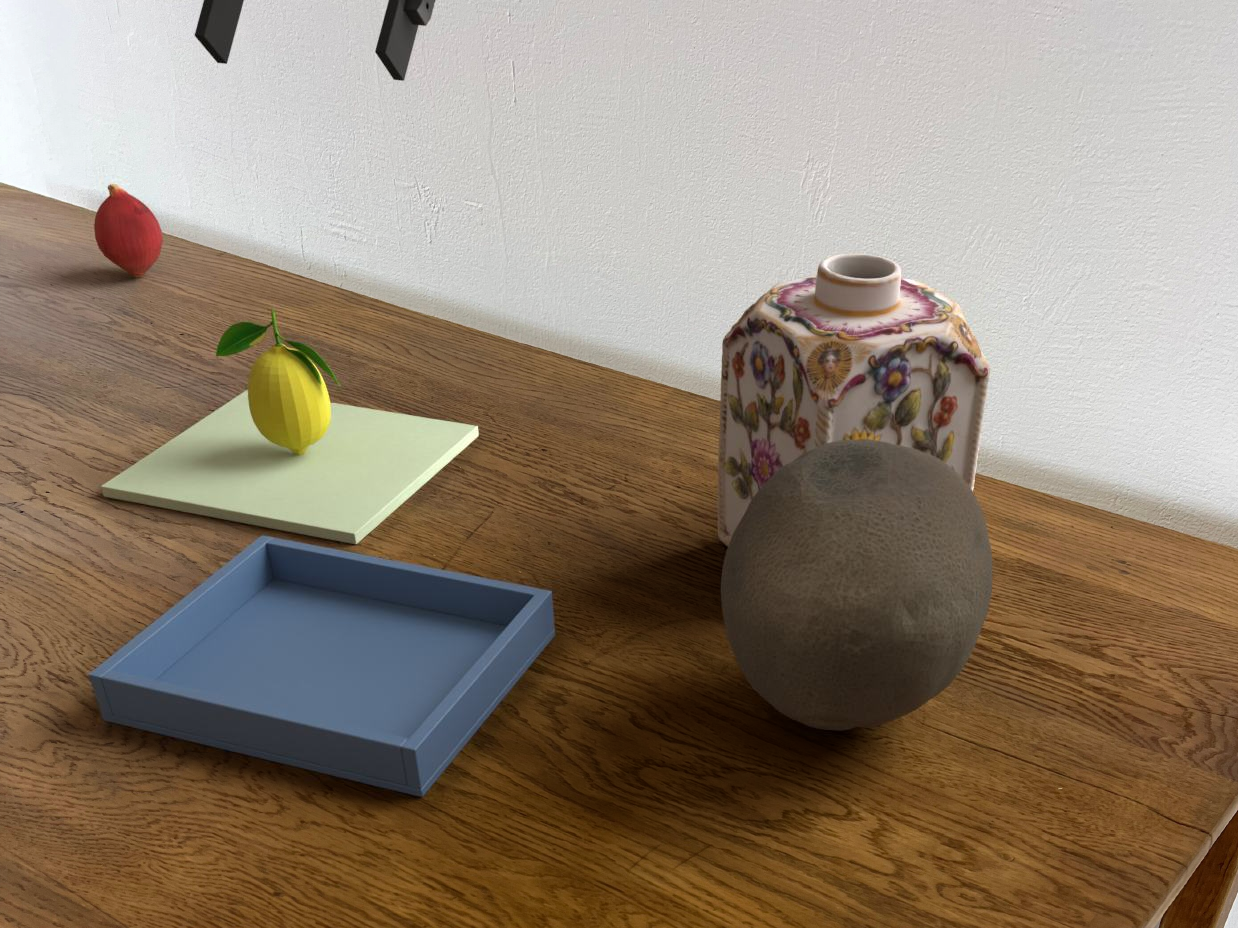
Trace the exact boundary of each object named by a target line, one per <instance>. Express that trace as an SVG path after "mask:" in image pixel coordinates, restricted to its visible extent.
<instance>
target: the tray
mask: <svg viewBox="0 0 1238 928" xmlns="http://www.w3.org/2000/svg"><path fill="white" fill-rule="evenodd" d="M553 601H554V600H553V591H552V590H548V589H544V588H539V587H533V586H529V585H525V584H517V583H512V582H507V581H502V580H497V579H492V578H486V577H483V576H482V577H481V576H476V575H471V574H465V573H460V572H455V571H449V570H446V569H439V568H436V567H435V568H434V567H429V566H425V565H419V564H414V563H409V562H404V561H403V562H402V561H399V560H392V559H387V558H382V557H377V556H372V555H366V554H362V553H357V552H350V551H347V550H346V551H345V550H341V549H335V548H332V547H331V548H330V547H325V546H321V545H315V544H309V543H304V542H299V541H294V540H289V539H283V538H278V537H273V536H269V535H264V534H263V535H260V536H259V537H257V539H255V540H254V541H253V542H251V543H250V544H248V546H247V547H245V548H244V549H242V551H240V552H239V553H238V554H236V555H235V556H234V557H233V558H231V559H230V560H229V561H228V562H226V563H225V564H223V566H221V568H219V569H217V571H216V572H214V573H213V574H211V575H210V576H209V577H208V578H207V579H206V580H204V581H203V582H202V583H201V584H199V585H198V586H197V587H195V588H194V589H193V590H192V591H191V592H189V593H188V594H187V595H185V596H184V597H183V598H182V599H180V600H179V601H177V603H176V604H174V605H173V606H172V607H170V608H169V609H168V610H167V611H166V612H164V613H163V614H162V615H161V616H159V617H158V618H157V619H156V620H154V621H153V622H152V623H151V624H149V625H148V626H147V627H146V628H144V629H143V630H142V631H140V632H139V633H138V634H137V635H135V636H134V637H133V638H132V639H130V640H129V641H128V642H127V643H125V644H124V645H123V646H122V647H121V648H119V649H118V650H117V651H115V652H114V653H113V654H112V655H110V656H109V657H108V658H107V659H106V660H104V661H103V662H102V663H100V664H99V665H98V666H96V668H94V669H93V670H92V671H90V672H89V673H88V678H89V681H90V684H91V687H92V690H93V692H94V696H95V698H96V701H97V704H98V707H99V710H100V713H101V716H102V719H103V721H104V722H109V723H112V724H117V725H120V726H125V727H129V728H134V729H137V730H141V731H146V732H149V733H154V734H158V735H161V736H162V735H163V736H166V737H171V738H175V739H179V740H183V741H187V742H192V743H195V744H200V745H204V746H208V747H212V748H215V749H220V750H225V751H229V752H233V753H236V754H241V755H245V756H249V757H254V758H258V759H262V760H266V761H269V762H274V763H278V764H282V765H285V766H286V765H287V766H291V767H296V768H298V769H303V770H307V771H311V772H315V773H320V774H324V775H329V776H332V777H337V778H341V779H344V780H348V781H353V782H357V783H362V784H365V785H369V786H374V787H377V788H382V789H386V790H391V791H395V792H399V793H401V794H402V793H403V794H407V795H411V796H414V797H419V798H424V796H425V795H426V794H427V792H428V791H429V790H430V789H431V787H432V786H433V785H434V784H435V783H436V782H437V780H438V779H439V778H440V776H441V775H443V773H444V772H445V770H446V769H447V768H448V767H449V765H450V764H451V763H452V762H453V761H454V760H455V758H456V757H457V756H458V755H459V753H460V752H461V751H462V750H463V748H464V747H465V746H466V745H467V743H469V742H470V740H471V739H472V738H473V736H474V735H475V734H476V733H477V732H478V730H480V728H481V726H483V724H484V723H485V722H486V720H487V719H488V718H489V717H490V716H491V715H492V713H493V712H494V711H495V709H496V708H497V707H498V706H499V705H500V703H501V702H502V701H503V700H504V698H505V697H506V696H507V695H508V694H509V692H510V691H511V690H512V689H513V688H514V687H515V685H516V684H517V683H518V682H519V680H520V679H521V678H522V676H523V675H525V673H526V672H527V670H528V669H529V668H530V667H531V666H532V665H533V663H534V662H535V661H536V659H537V658H538V657H539V656H540V655H541V653H542V652H543V651H544V650H545V648H546V647H547V646H548V645H549V644H550V642H551V641H552V640H553V639H554V638H555V636H556V630H555V616H554V615H555V614H554V602H553Z"/></svg>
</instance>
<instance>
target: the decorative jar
mask: <svg viewBox="0 0 1238 928" xmlns="http://www.w3.org/2000/svg"><path fill="white" fill-rule="evenodd" d="M721 349H722V350H721V354H722V355H721V372H720V373H721V374H720V375H721V378H720V405H719V406H720V407H719V409H720V410H719V426H718V428H719V431H718V459H717V460H718V461H717V533H718V539H719V541H720V542H722V544H724V545H725V546H726V547H728V546H729V543H730V540H731V537H732V535H733V533H734V531H735V529H736V527H737V526H738V524H739V522H740V521H741V519H742V517H743V516H744V514H745V512H746V510H747V507H748V505H749V503H750V502H751V500H752V499H753V497H754V496H755V495H756V493H757V492H758V491H759V490H760V488H761V487H762V486H763V485H764V484H765V483H766V482H767V481H768V480H769V479H770V478H771V477H772V476H773V475H774V474H775V473H776V472H777V471H778V470H779V469H780V468H781V467H783V466H784V465H786V464H788V463H790V462H792V461H794V460H795V459H796V458H798V457H799V456H800V455H802V454H804V453H805V452H807V451H810V450H812V449H814V448H817V447H819V446H822V445H824V444H827V443H830V442H835V441H842V440H860V439H871V440H877V441H883V442H887V443H891V444H895V445H900V446H906V447H909V448H912V449H916V450H918V451H921V452H924V453H927V454H930V455H932V456H934V457H936V458H938V459H940V460H941V461H943V462H945V463H946V464H947V465H949V466H950V467H951V468H952V469H953V470H954V471H956V472H957V473H958V474H959V475H960V476H961V477H962V479H963V480H964V481H965V482H966V483H967V485H968V486H969V487H970V488H971V490H972V491H973V492H974V487H975V481H976V480H975V477H976V472H977V471H976V470H977V466H978V464H977V463H978V459H979V458H978V456H979V452H980V444H981V435H982V429H983V422H984V414H985V408H986V407H985V406H986V402H987V395H988V388H989V382H990V371H991V368H990V366H989V363H988V362H987V360H986V357H985V355H984V354H983V352H982V349H981V347H980V344H979V342H978V340H977V338H976V337H975V335H974V334H973V332H972V330H971V328H970V325H968V322H967V319H966V317H965V315H964V313H963V311H962V308H961V307H960V305H959V304H958V303H957V302H956V301H954V300H953V299H951V298H949V297H947V296H946V295H944V294H942V293H941V292H939V291H937V290H936V289H934V288H932V287H930V286H929V285H927V284H925V283H923V282H921V281H918V280H915V279H911V278H902V269H901V267H900V265H899V264H898V263H897V262H896V261H894V260H892V259H889V258H887V257H884V256H879V255H874V254H866V253H842V254H835V255H832V256H828V257H826V258H824V259H823V260H821V261H820V263H819V264H818V267H817V272H816V274H814V275H813V274H812V275H808V276H802V277H798V278H794V279H790V280H786V281H782V282H779V283H776V284H774V285H773V286H771V288H769V290H768V291H766V292H765V293H763V294H762V295H761V296H760V297H759V298H758V299H757V300H756V301H755V302H754V303H752V304H751V305H750V306H748V308H747V309H746V310H744V312H743V314H742V315H741V317H739V319H738V320H737V321H736V322H735V323H734V324H733V325H732V326H731V328H730V330H729V331H728V332H727V333H726V334H725V335H724V338H723V339H722V344H721Z"/></svg>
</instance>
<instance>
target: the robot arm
mask: <svg viewBox="0 0 1238 928" xmlns="http://www.w3.org/2000/svg"><path fill="white" fill-rule="evenodd" d="M244 2H245V0H203V2H202V4H201V5H202V6H201V9H200V13H199V17H198V20H197V25H196V28H195V30H194V31H195V32H194V37H195V38H196V40H198V42H199V43H200V44H201V45H202V46H203V48H204V49H205V50H206V51H207V53H208V54H209V55H210V56H211V57H212V58H213V59H214V61H215V62H216V63H217V64H223V65H226V64H227V65H228V61H229V58H230V54H231V50H232V46H233V42H234V39H235V36H236V32H237V29H238V24H239V21H240V17H241V13H242V10H243V6H244ZM435 4H436V0H388V2H387V5H386V9H385V13H384V16H383V20H382V25H381V28H380V32H379V35H378V39H377V43H376V47H375V51H374V52H375V54H376V55H377V57H378V58H379V60H380V62H381V64H382V65H383V66H384V68H385V70H387V72H388V74H389V75H390V77H391V78H392V79H393V80H394V81H403V82H404V81H405V79H406V76H407V75H406V74H407V71H408V67H409V64H410V59H411V55H412V52H413V49H414V44H415V40H416V36H417V33H418V29H419V26H423V27H426V26H428V23H429V22H430V21H431V19H432V15H433V11H434V8H435Z"/></svg>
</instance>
